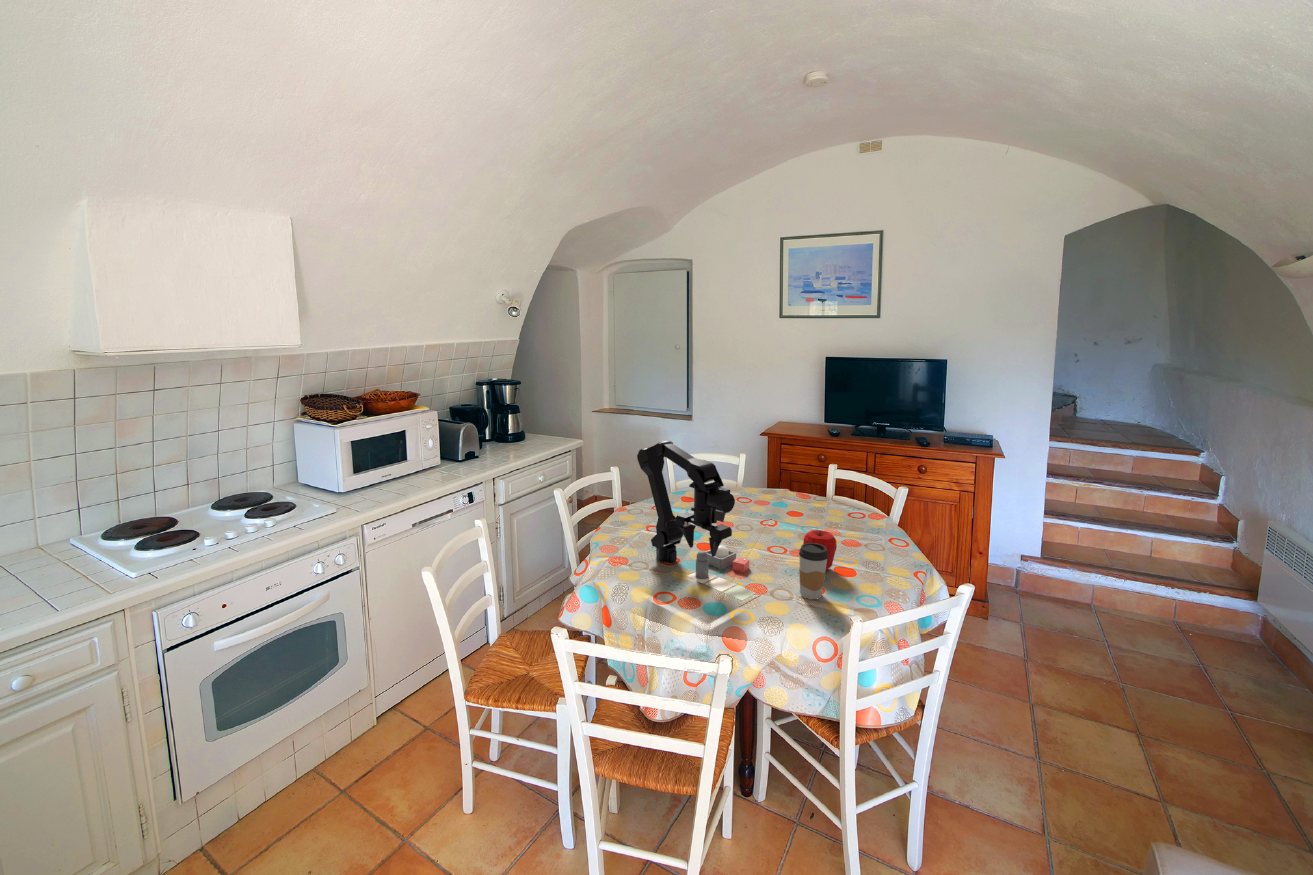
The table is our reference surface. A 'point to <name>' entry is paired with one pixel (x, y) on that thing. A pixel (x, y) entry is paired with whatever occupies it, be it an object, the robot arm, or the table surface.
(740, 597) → the game board
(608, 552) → the table surface
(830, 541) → the apple
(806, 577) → the coffee cup
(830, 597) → the table surface
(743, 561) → the red die
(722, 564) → the dome housing
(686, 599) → the table surface
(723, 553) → the dome
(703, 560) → the pawn
